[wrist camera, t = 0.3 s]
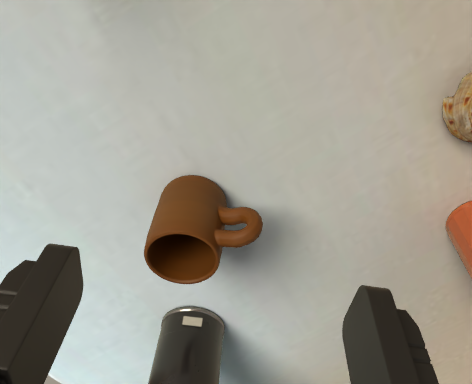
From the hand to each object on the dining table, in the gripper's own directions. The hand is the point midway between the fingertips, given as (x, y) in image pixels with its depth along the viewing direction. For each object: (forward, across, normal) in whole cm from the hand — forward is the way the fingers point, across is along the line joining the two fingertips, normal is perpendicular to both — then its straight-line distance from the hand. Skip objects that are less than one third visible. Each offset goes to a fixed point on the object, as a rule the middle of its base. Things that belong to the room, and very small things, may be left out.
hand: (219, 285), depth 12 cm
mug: (+29, -1, -19) cm, 35 cm away
